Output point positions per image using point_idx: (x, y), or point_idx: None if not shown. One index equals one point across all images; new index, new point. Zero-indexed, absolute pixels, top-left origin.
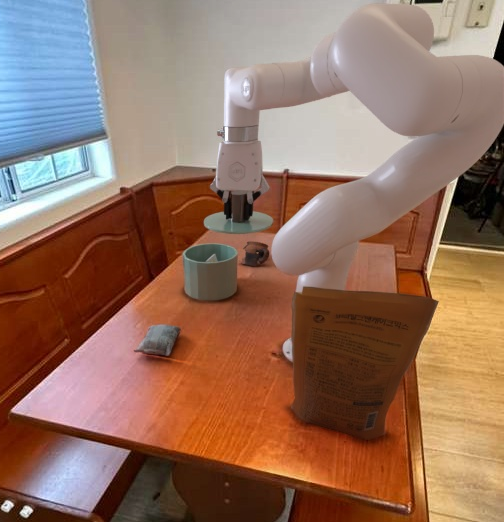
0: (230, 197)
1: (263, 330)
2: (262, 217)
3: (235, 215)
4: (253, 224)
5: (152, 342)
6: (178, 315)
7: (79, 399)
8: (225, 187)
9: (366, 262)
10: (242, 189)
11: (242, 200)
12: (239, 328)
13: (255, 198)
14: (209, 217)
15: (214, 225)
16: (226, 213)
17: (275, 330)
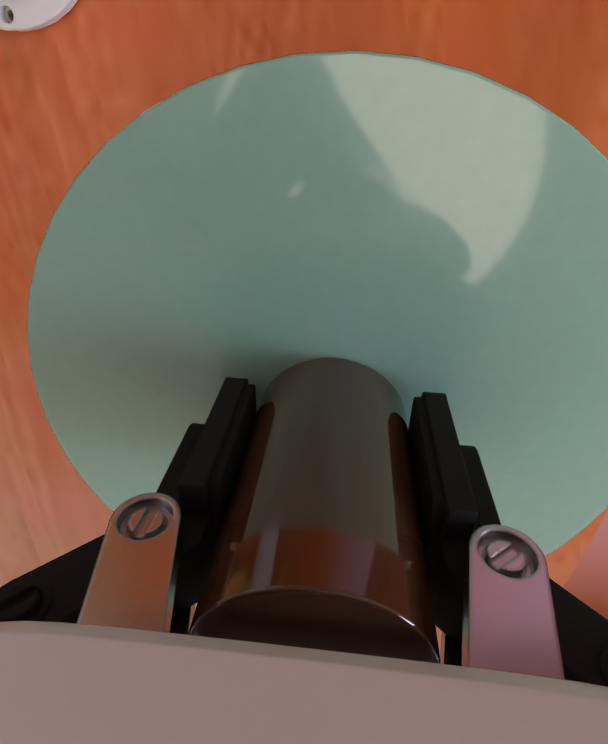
0: (430, 597)
1: (210, 57)
2: (156, 489)
3: (344, 397)
4: (167, 326)
5: None
6: (587, 105)
7: None
8: (584, 740)
9: (39, 550)
10: (174, 654)
11: (247, 525)
12: (305, 48)
13: (81, 559)
14: (606, 469)
15: (560, 248)
16: (448, 424)
17: (166, 69)
